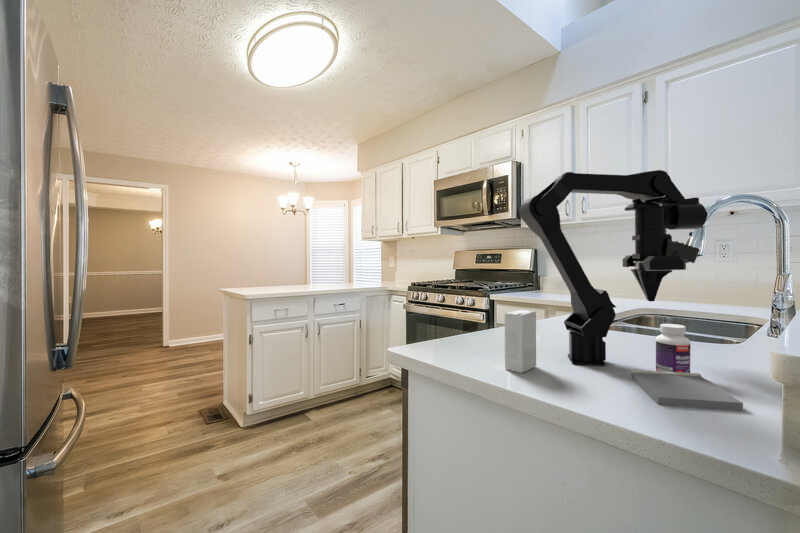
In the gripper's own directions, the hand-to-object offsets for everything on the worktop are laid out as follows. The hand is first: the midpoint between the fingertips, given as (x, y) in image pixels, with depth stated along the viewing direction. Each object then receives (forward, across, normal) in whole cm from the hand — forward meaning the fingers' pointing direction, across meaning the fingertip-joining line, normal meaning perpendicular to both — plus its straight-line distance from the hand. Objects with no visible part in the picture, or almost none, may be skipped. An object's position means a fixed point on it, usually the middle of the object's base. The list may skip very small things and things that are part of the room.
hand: (650, 301), depth 82 cm
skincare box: (+13, -12, +28) cm, 33 cm away
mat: (+13, -20, +2) cm, 24 cm away
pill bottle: (+13, -11, 0) cm, 17 cm away
